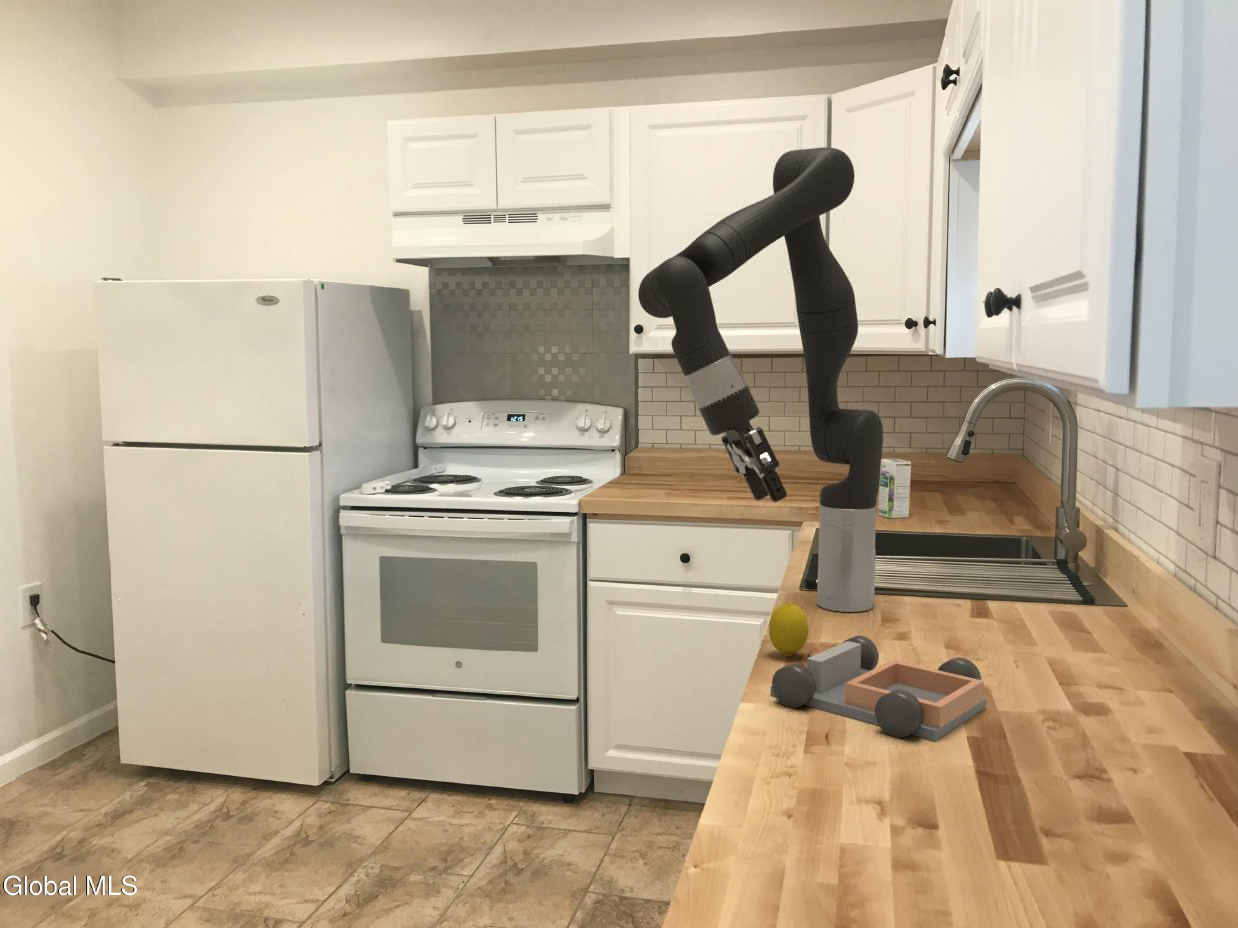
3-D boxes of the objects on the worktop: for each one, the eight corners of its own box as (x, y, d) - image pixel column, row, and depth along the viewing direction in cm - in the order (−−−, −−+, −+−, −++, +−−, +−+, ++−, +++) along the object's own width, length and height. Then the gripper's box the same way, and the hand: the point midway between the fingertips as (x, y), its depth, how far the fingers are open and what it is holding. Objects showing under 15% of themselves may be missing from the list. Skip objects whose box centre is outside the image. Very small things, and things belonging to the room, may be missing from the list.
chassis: (835, 665, 140) (836, 628, 140) (992, 703, 126) (994, 662, 125) (761, 699, 127) (762, 659, 127) (927, 746, 113) (929, 701, 112)
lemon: (778, 664, 141) (779, 607, 140) (762, 652, 146) (763, 598, 145) (814, 660, 142) (816, 605, 142) (797, 649, 148) (798, 595, 147)
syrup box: (877, 515, 260) (879, 458, 259) (897, 513, 262) (899, 458, 260) (889, 518, 255) (891, 461, 253) (910, 517, 257) (912, 460, 255)
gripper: (759, 379, 136) (811, 487, 137) (732, 387, 150) (779, 486, 151) (709, 403, 135) (762, 512, 136) (687, 409, 149) (735, 508, 150)
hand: (771, 498), depth 143 cm, fingers open, 8 cm apart
